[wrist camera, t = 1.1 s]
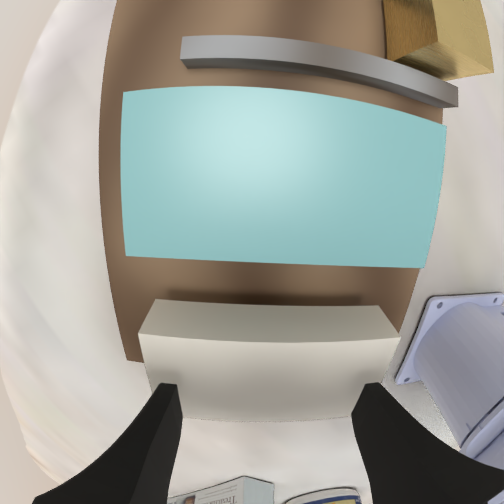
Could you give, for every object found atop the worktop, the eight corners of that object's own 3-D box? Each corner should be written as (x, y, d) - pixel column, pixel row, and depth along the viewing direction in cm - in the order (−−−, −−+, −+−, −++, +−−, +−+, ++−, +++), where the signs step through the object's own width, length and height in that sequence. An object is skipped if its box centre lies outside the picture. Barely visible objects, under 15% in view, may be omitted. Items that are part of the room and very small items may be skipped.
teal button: (409, 126, 9) (446, 126, 7) (393, 244, 11) (424, 268, 9) (150, 102, 9) (123, 92, 6) (149, 232, 11) (125, 255, 8)
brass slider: (432, 17, 8) (478, -4, 4) (438, 82, 9) (493, 72, 6) (382, -3, 8) (422, -37, 4) (387, 63, 9) (438, 41, 5)
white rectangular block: (378, 305, 12) (401, 337, 10) (352, 380, 14) (365, 414, 12) (155, 298, 12) (137, 333, 9) (168, 378, 13) (158, 414, 11)
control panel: (416, 13, 10) (448, -6, 6) (375, 346, 17) (394, 380, 14) (138, -16, 9) (115, -44, 6) (136, 340, 17) (119, 376, 14)
